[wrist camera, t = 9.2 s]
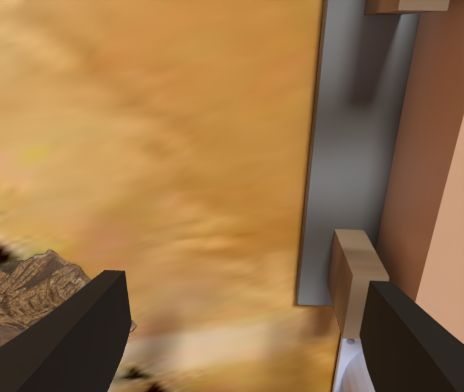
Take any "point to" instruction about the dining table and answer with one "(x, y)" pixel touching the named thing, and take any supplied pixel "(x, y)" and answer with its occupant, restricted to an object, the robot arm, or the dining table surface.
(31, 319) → the wooden fragment
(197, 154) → the dining table surface
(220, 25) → the dining table surface
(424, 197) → the clay strip
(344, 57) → the grey panel
